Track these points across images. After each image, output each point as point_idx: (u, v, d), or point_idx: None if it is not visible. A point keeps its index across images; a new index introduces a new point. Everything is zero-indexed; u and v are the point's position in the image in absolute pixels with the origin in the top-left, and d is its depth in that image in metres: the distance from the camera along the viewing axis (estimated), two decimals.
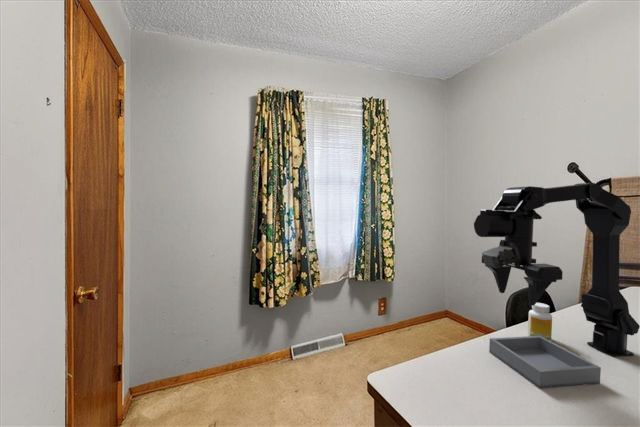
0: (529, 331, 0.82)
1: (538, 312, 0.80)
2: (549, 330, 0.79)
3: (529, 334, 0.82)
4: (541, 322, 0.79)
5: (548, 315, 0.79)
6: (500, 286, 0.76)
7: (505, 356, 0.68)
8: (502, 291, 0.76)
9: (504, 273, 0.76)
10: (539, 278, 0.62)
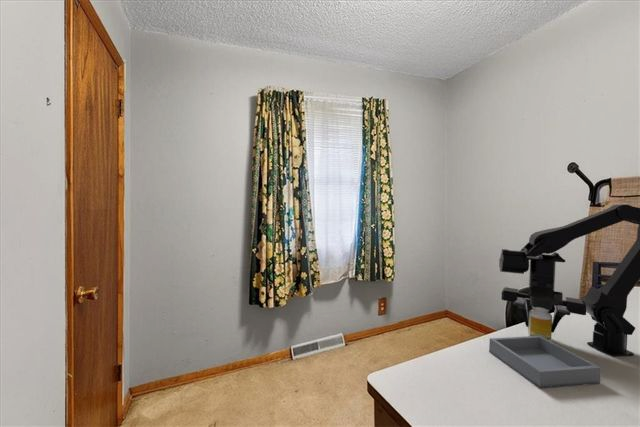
0: (529, 331, 0.82)
1: (538, 312, 0.80)
2: (549, 330, 0.79)
3: (529, 334, 0.82)
4: (541, 322, 0.79)
5: (548, 315, 0.79)
6: (527, 321, 0.83)
7: (505, 356, 0.68)
8: None
9: (526, 308, 0.84)
10: (584, 314, 0.74)
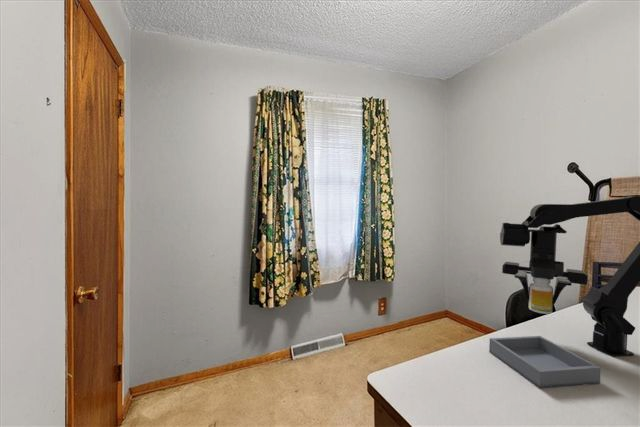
0: (530, 304, 0.82)
1: (539, 284, 0.80)
2: (550, 302, 0.79)
3: (530, 307, 0.82)
4: (542, 294, 0.79)
5: (549, 287, 0.79)
6: (528, 294, 0.83)
7: (505, 356, 0.68)
8: None
9: (527, 281, 0.84)
10: (585, 283, 0.73)
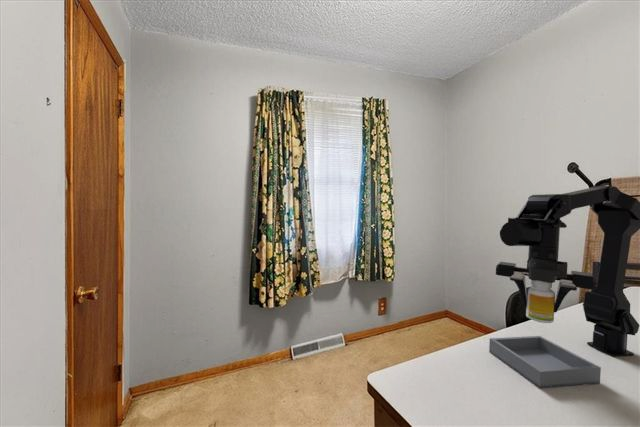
0: (528, 311, 0.70)
1: (538, 288, 0.68)
2: (551, 309, 0.67)
3: (527, 315, 0.70)
4: (541, 300, 0.67)
5: (550, 292, 0.67)
6: (526, 299, 0.71)
7: (505, 356, 0.68)
8: (526, 304, 0.71)
9: (525, 284, 0.72)
10: (594, 288, 0.61)
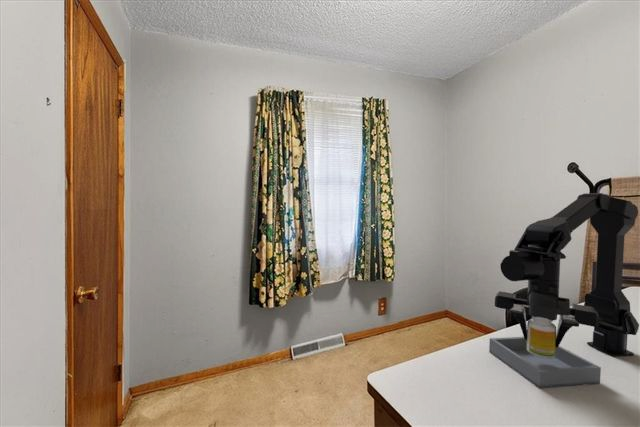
0: (528, 345, 0.68)
1: (539, 322, 0.66)
2: (552, 344, 0.65)
3: (528, 349, 0.68)
4: (542, 335, 0.65)
5: (551, 326, 0.65)
6: (526, 332, 0.68)
7: (505, 356, 0.68)
8: (526, 337, 0.69)
9: (525, 316, 0.69)
10: (597, 325, 0.59)
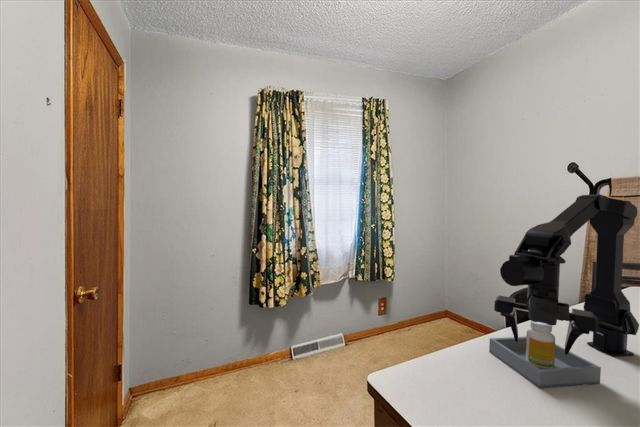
0: (527, 355, 0.68)
1: (538, 332, 0.66)
2: (551, 355, 0.65)
3: (527, 359, 0.68)
4: (542, 345, 0.65)
5: (550, 336, 0.65)
6: None
7: (505, 356, 0.68)
8: (517, 339, 0.70)
9: (516, 319, 0.71)
10: (596, 330, 0.59)
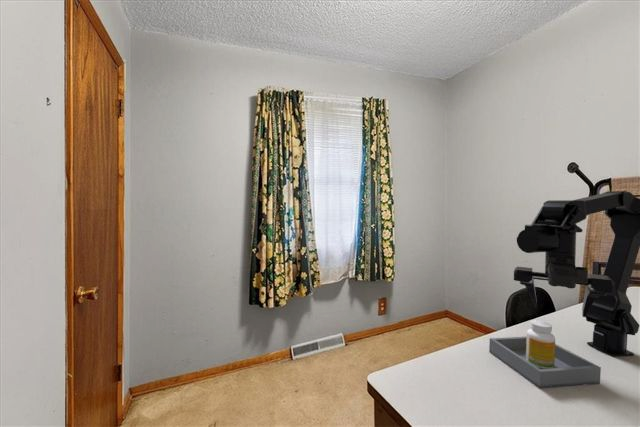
0: (527, 355, 0.68)
1: (538, 333, 0.66)
2: (551, 355, 0.65)
3: (527, 359, 0.68)
4: (542, 345, 0.65)
5: (550, 337, 0.65)
6: (536, 302, 0.73)
7: (505, 356, 0.68)
8: (536, 306, 0.74)
9: (534, 287, 0.74)
10: (613, 291, 0.63)
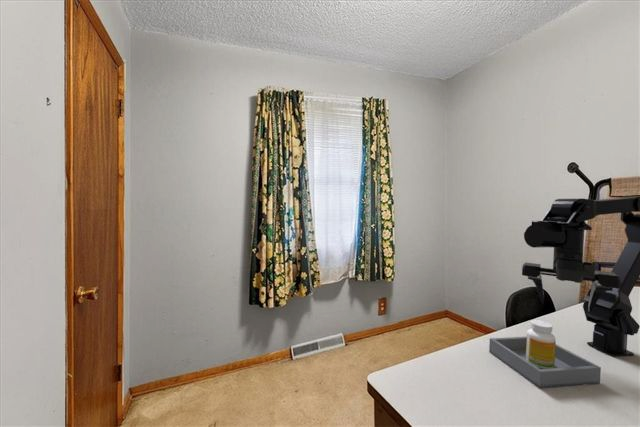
0: (528, 355, 0.68)
1: (539, 333, 0.66)
2: (552, 355, 0.65)
3: (528, 359, 0.68)
4: (542, 345, 0.65)
5: (551, 337, 0.65)
6: (543, 297, 0.76)
7: (505, 356, 0.68)
8: (543, 301, 0.76)
9: None
10: (619, 287, 0.65)
